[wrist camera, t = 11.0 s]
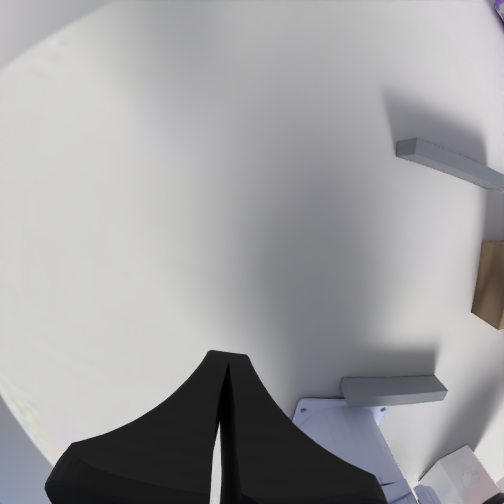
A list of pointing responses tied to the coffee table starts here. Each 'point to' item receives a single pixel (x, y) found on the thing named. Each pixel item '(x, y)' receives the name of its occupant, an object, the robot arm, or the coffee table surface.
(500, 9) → the pencil case
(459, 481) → the jar
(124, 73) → the coffee table surface
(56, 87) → the coffee table surface
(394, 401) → the lane
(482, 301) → the walnut block
